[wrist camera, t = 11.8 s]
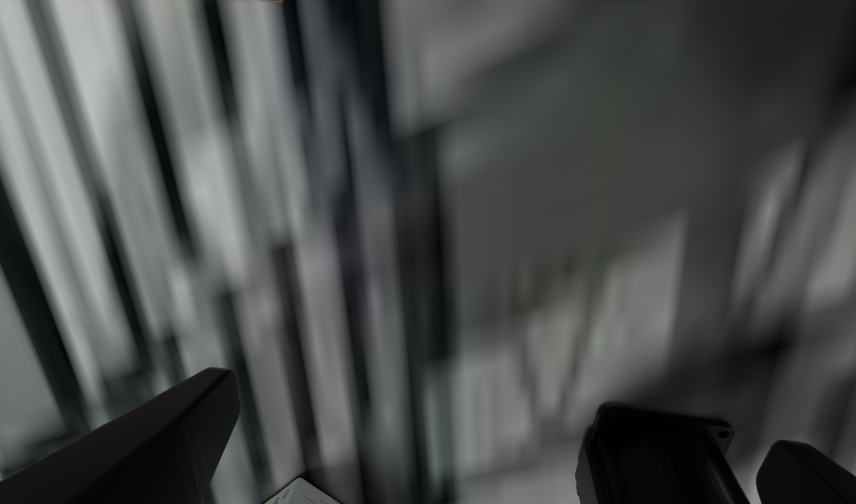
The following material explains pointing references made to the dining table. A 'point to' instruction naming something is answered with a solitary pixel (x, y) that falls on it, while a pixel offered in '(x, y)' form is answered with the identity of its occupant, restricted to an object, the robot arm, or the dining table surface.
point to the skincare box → (301, 494)
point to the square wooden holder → (269, 0)
